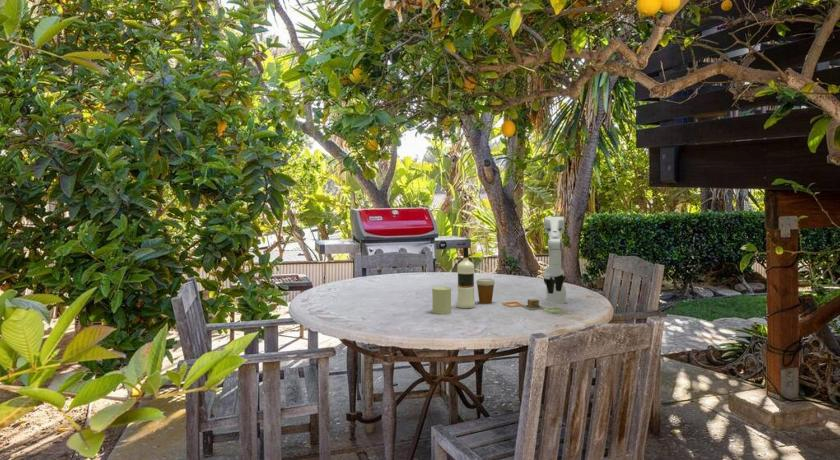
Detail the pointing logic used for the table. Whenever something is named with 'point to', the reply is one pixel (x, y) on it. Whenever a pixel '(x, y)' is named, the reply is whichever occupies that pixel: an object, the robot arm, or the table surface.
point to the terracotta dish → (512, 304)
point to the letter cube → (533, 303)
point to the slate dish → (532, 308)
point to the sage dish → (554, 310)
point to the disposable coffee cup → (485, 290)
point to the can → (441, 300)
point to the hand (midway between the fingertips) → (554, 292)
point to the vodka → (465, 282)
